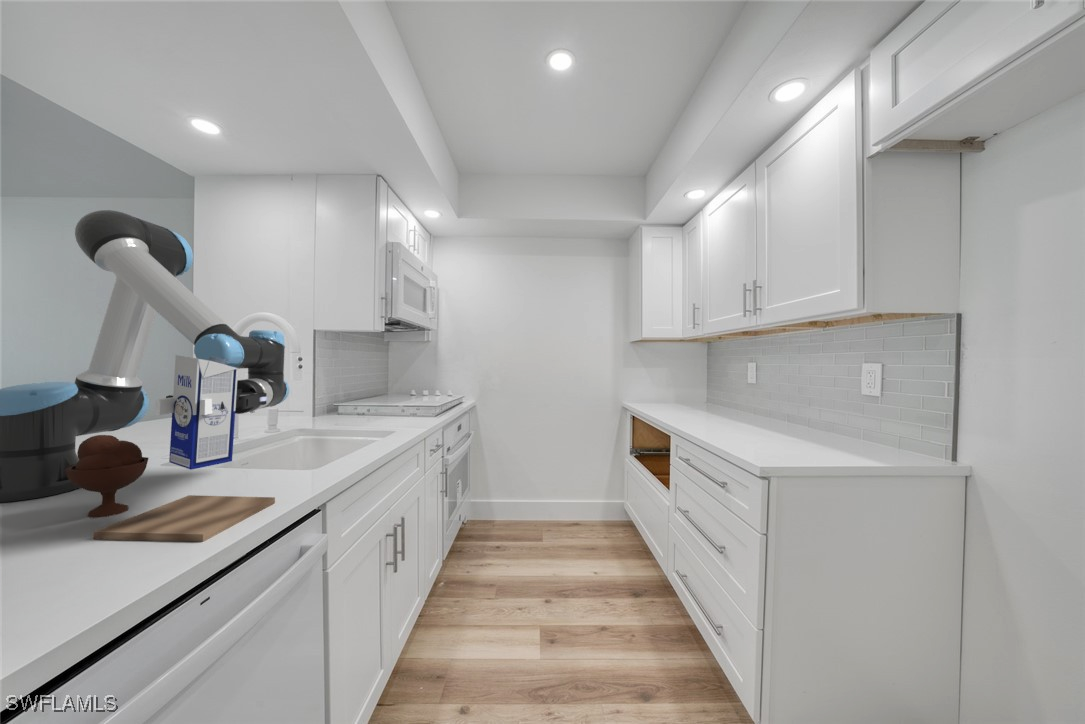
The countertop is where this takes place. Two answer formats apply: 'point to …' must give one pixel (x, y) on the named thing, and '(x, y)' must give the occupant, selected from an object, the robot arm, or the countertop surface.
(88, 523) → the countertop surface
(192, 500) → the walnut board
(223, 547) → the countertop surface
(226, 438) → the milk carton
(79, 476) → the ice cream bowl
